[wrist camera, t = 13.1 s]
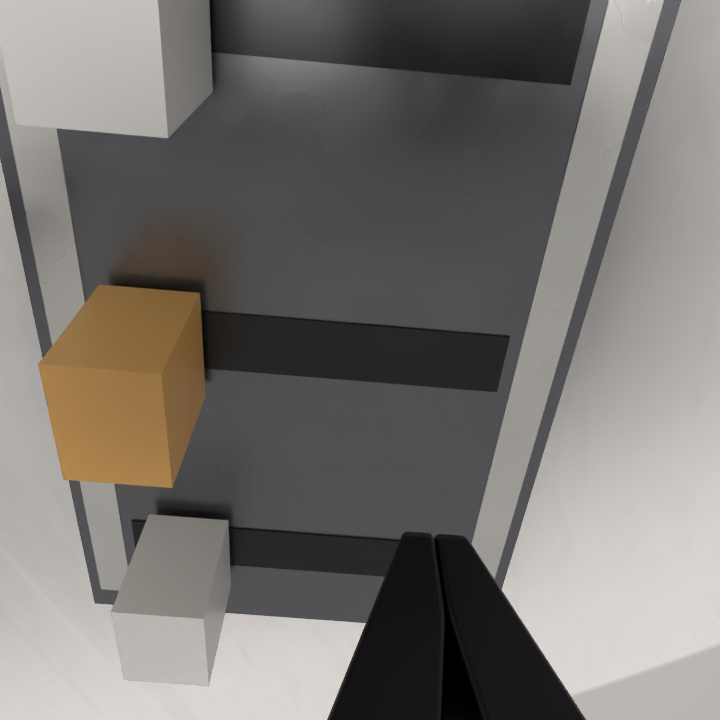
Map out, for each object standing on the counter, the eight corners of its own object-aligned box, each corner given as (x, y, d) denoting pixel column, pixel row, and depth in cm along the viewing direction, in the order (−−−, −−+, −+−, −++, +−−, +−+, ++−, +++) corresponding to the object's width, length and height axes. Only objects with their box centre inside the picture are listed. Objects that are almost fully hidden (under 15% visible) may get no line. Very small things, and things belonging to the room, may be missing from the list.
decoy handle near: (212, 91, 16) (167, 137, 13) (93, 80, 16) (16, 124, 12) (205, -92, 14) (150, -95, 11) (69, -106, 14) (-30, -112, 10)
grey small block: (230, 586, 26) (208, 686, 22) (157, 581, 26) (124, 680, 22) (228, 520, 24) (203, 618, 20) (148, 514, 24) (110, 612, 20)
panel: (482, 590, 29) (488, 633, 28) (111, 563, 29) (94, 604, 27) (694, -164, 15) (735, -175, 13) (-35, -239, 15) (-90, -259, 13)
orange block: (205, 396, 21) (172, 488, 17) (114, 388, 21) (63, 479, 17) (199, 293, 19) (161, 373, 15) (99, 284, 19) (38, 364, 15)
